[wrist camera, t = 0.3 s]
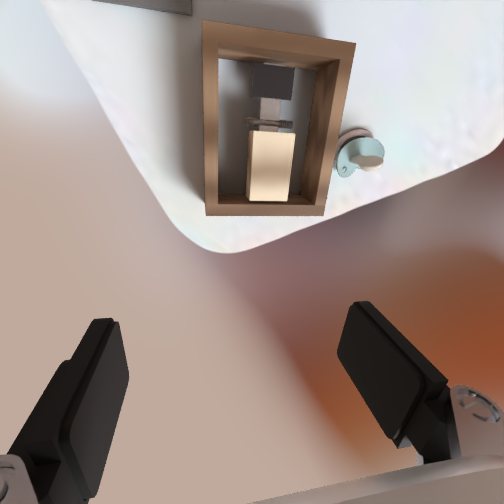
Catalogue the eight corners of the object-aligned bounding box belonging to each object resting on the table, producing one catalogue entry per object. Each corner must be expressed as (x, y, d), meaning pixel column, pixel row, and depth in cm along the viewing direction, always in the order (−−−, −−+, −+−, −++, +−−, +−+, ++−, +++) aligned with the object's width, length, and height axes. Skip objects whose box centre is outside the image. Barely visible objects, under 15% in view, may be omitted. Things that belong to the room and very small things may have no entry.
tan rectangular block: (249, 130, 31) (253, 130, 28) (287, 133, 32) (295, 133, 29) (245, 195, 34) (249, 200, 32) (280, 195, 35) (287, 201, 33)
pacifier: (325, 139, 36) (332, 179, 39) (348, 139, 31) (353, 186, 33) (372, 122, 37) (375, 163, 39) (402, 119, 31) (404, 167, 34)
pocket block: (201, 39, 29) (202, 19, 23) (330, 57, 32) (356, 43, 26) (204, 203, 37) (205, 215, 31) (306, 204, 40) (323, 215, 35)
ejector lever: (246, 62, 28) (248, 59, 28) (296, 68, 30) (299, 66, 29) (241, 193, 35) (242, 195, 34) (282, 194, 36) (284, 196, 35)
